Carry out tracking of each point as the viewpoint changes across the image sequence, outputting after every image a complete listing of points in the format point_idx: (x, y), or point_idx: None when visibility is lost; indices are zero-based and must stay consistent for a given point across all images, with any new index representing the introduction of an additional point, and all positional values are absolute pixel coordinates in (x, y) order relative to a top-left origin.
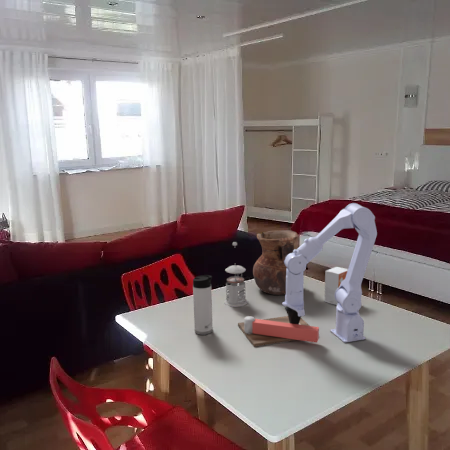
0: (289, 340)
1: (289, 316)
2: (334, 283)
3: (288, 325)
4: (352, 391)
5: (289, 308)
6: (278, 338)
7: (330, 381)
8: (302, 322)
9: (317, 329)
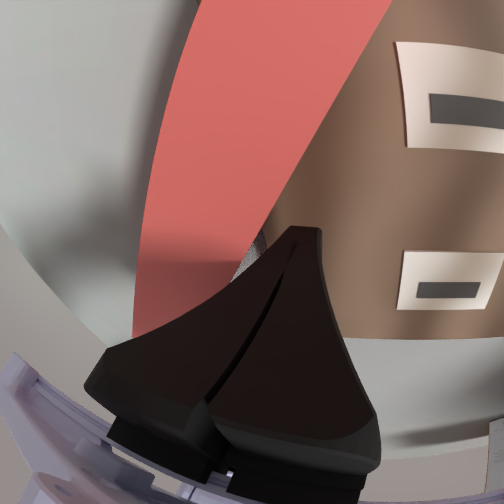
0: None
1: (207, 321)
2: (499, 485)
3: (182, 213)
4: (13, 240)
5: (257, 455)
6: None
7: (16, 214)
8: (460, 325)
9: None
